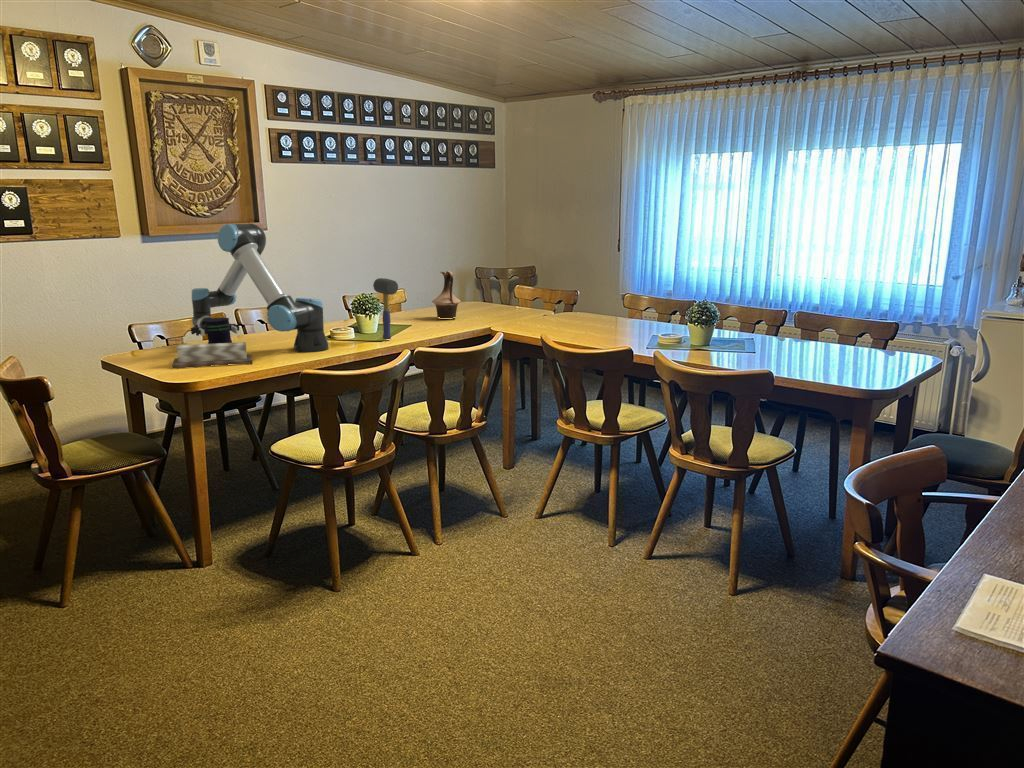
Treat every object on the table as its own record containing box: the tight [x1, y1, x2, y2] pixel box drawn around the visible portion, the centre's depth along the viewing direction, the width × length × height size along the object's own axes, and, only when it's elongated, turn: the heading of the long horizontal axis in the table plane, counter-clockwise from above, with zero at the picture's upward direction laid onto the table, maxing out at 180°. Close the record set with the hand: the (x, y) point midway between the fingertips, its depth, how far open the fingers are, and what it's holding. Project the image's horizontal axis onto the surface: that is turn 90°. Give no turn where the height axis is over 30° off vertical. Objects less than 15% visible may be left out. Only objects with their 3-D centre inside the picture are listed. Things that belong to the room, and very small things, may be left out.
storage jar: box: [205, 317, 233, 344], centre depth 317 cm, size 10×10×15 cm
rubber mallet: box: [372, 277, 399, 340], centre depth 352 cm, size 12×8×30 cm, turn 42°
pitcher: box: [431, 270, 462, 318], centre depth 421 cm, size 18×17×28 cm
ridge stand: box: [171, 341, 253, 369], centre depth 299 cm, size 30×14×8 cm, turn 111°
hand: (220, 331), depth 315 cm, fingers open, 13 cm apart
